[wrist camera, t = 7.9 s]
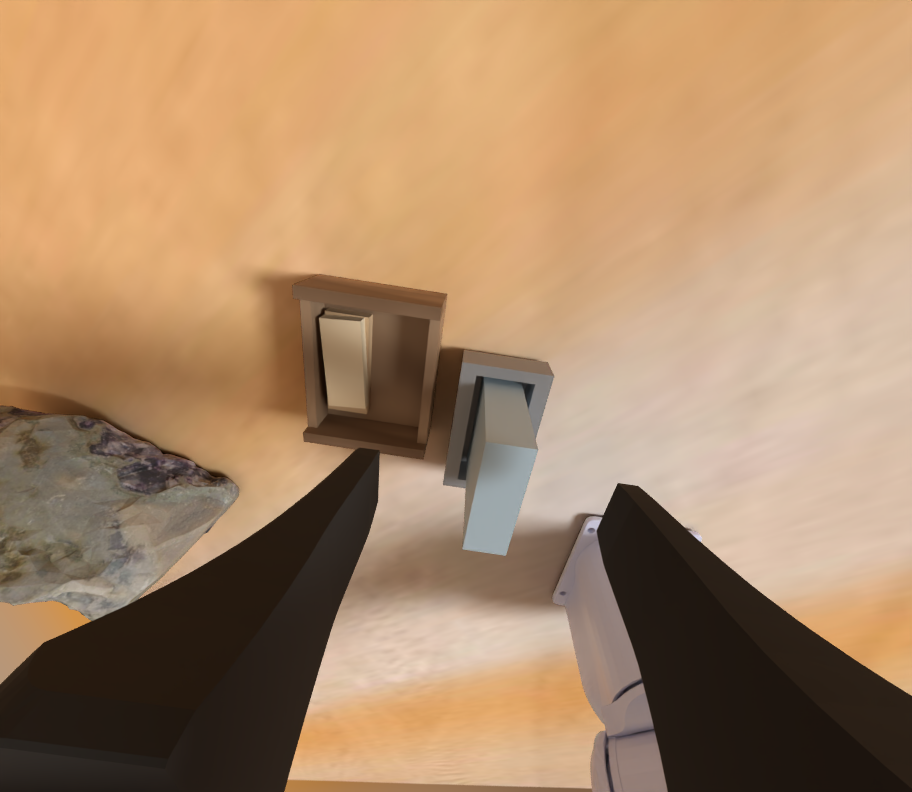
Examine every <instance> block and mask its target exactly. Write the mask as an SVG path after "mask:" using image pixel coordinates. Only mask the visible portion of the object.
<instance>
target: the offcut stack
mask: <svg viewBox="0 0 912 792" xmlns="http://www.w3.org/2000/svg"><path fill="white" fill-rule="evenodd" d="M319 323H320V332H321V341H322V350H323V359H324V368H325V377H326V386H327V395H328V408H329V409H336V410H342V411H349V412H355V413H362V414H367V413H368V411H369V409H370V392H371V359H372V325H373V314H369V313H363V312H356V311H350V310H343V309H337V308H329V309H327V310H325V314H324V315H323V316H321V317H320V318H319Z"/></svg>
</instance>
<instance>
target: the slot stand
mask: <svg viewBox="0 0 912 792" xmlns="http://www.w3.org/2000/svg"><path fill="white" fill-rule="evenodd" d="M482 377H489V378H496V379H503V380H509V381H516V382H522V386H523V390H524V394H525V398H526V402H527V407H528V411H529V415H530V419H531V423H532V427H533V431H534V435H535V439H536V436H537V432H538V429H539V426H540V422H541V419H542V416H543V412H544V409H545V405H546V402H547V399H548V395H549V392H550V388H551V385H552V382H553V378H554V375H553V373H552V370H551V368H550V366H549V364H548V363H547V362H541V361H534V360H528V359H521V358H515V357H508V356H502V355H495V354H489V353H482V352H476V351H469V350H464V352H463V359H462V365H461V371H460V377H459V384H458V390H457V396H456V403H455V409H454V415H453V422H452V428H451V434H450V441H449V447H448V453H447V460H446V466H445V474H444V481H443V485H447V486H453V487H460V488H466V474H467V456H468V450H469V445H470V440H471V435H472V430H473V424H474V419H475V414H476V409H477V404H478V398H479V393H480V388H481V383H482Z"/></svg>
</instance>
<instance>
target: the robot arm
mask: <svg viewBox="0 0 912 792" xmlns="http://www.w3.org/2000/svg"><path fill="white" fill-rule="evenodd" d="M379 455H380V450H375V449H367V448H360V447H359V448H358V449H356V450H355V451H354V452H353V453H352V454H351V455H350V456H349V457H348V458H347V459H346V460H345V461H344V462H343V463H342V464H341V465H339V466H338V467H337V468H336V469H335V470H334V471H333V472H332V473H331V474H330V475H329V476H327V477H326V478H325V479H324V480H323V481H322V482H321V483H319V484H318V485H317V486H316V487H315V488H314V489H313V490H311V491H310V492H309V493H308V494H307V495H305V496H304V497H303V498H302V499H300V500H299V501H298V502H297V503H295V504H294V505H293V506H291V507H290V508H289V509H288V510H286V511H285V512H284V513H283V514H281V515H280V516H279V517H277V518H276V519H274V520H273V521H272V522H270V523H269V524H267V525H266V526H265V527H263V528H262V529H260V530H259V531H257V532H256V533H254V534H253V535H251V536H250V537H248V538H247V539H245V540H244V541H242V542H241V543H239V544H238V545H236V546H234V547H233V548H231V549H229V550H228V551H226V552H225V553H223V554H221V555H220V556H218V557H216V558H215V559H213V560H211V561H209V562H208V563H206V564H204V565H203V566H201V567H199V568H198V569H196V570H194V571H192V572H190V573H189V574H187V575H185V576H183V577H181V578H179V579H177V580H175V581H174V582H172V583H170V584H168V585H166V586H164V587H162V588H160V589H158V590H156V591H154V592H152V593H150V594H148V595H146V596H144V597H142V598H140V599H138V600H136V601H134V602H132V603H130V604H128V605H126V606H124V607H122V608H120V609H118V610H115V611H113V612H111V613H109V614H107V615H104V616H102V617H100V618H98V619H96V620H93V621H91V622H89V623H87V624H85V625H82V626H80V627H78V628H76V629H74V630H71V631H69V632H67V633H65V634H63V635H60V636H58V637H56V638H53V639H51V640H49V641H46V642H44V643H43V644H42V645H41V646H40V647H39V648H38V649H36V650H35V651H34V652H33V653H32V654H31V655H30V656H29V657H28V658H27V659H26V660H25V661H24V662H23V663H22V664H21V665H20V666H19V667H18V668H16V669H15V671H13V672H12V673H11V674H10V676H8V677H7V678H6V680H4V681H3V682H2V683H1V684H0V792H284V791H285V787H286V783H287V780H288V776H289V772H290V768H291V765H292V761H293V758H294V754H295V751H296V747H297V744H298V740H299V737H300V733H301V730H302V726H303V722H304V719H305V715H306V712H307V708H308V705H309V702H310V698H311V695H312V692H313V688H314V685H315V681H316V678H317V675H318V671H319V668H320V665H321V661H322V658H323V655H324V652H325V648H326V645H327V642H328V639H329V635H330V632H331V629H332V626H333V623H334V620H335V617H336V614H337V612H338V609H339V606H340V604H341V601H342V599H343V596H344V594H345V591H346V589H347V586H348V584H349V581H350V579H351V577H352V574H353V572H354V569H355V567H356V564H357V562H358V559H359V557H360V554H361V552H362V549H363V547H364V544H365V542H366V539H367V537H368V534H369V531H370V528H371V524H372V521H373V517H374V514H375V510H376V506H377V503H378V485H379ZM589 528H591V529H589ZM701 540H702V537H701V536H700V534H699V533H698V532H696V531H690V530H687V529H686V528H684V527H683V526H682V525H681V524H680V523H679V522H678V521H677V520H676V519H675V518H674V517H672V516H671V515H670V514H669V513H668V512H667V511H666V510H665V509H664V508H663V507H662V506H660V505H659V504H658V503H657V502H656V501H655V500H654V499H653V498H652V497H650V496H649V495H648V494H647V493H646V492H645V491H643V490H642V489H641V488H640V487H639V486H634V485H627V484H620V483H618V484H617V486H616V489H615V491H614V493H613V495H612V497H611V500H610V502H609V504H608V506H607V508H606V511H605V513H604V515H603V517H596V516H590V517H588V518H586V520H585V522H584V524H583V526H582V529H581V531H580V533H579V536H578V538H577V540H576V542H575V545H574V547H573V549H572V552H571V554H570V556H569V559H568V561H567V563H566V566H565V568H564V570H563V573H562V575H561V577H560V580H559V582H558V584H557V587H556V589H555V591H554V594H553V596H552V599H553V602H554V603H555V604H557V605H564V606H565V607H566V612H567V616H568V621H569V626H570V630H571V635H572V640H573V644H574V649H575V654H576V658H577V663H578V667H579V672H580V677H581V681H582V685H583V689H584V692H585V694H586V697H587V699H588V701H589V703H590V705H591V707H592V708H593V710H594V711H595V713H596V715H597V716H598V717H599V719H600V720H601V721H602V722H603V724H604V725H605V729H606V731H600V732H599V733H598V734H597V735H596V737H595V740H594V746H593V751H592V755H591V762H590V772H591V784H592V792H912V696H911V695H909V694H908V693H906V692H904V691H903V690H901V689H900V688H898V687H896V686H895V685H893V684H892V683H890V682H888V681H887V680H885V679H884V678H882V677H881V676H879V675H877V674H876V673H874V672H873V671H871V670H870V669H868V668H867V667H865V666H863V665H862V664H860V663H859V662H857V661H856V660H854V659H853V658H851V657H850V656H848V655H847V654H845V653H844V652H843V651H841V650H840V649H838V648H837V647H835V646H834V645H832V644H831V643H829V642H828V641H826V640H825V639H823V638H822V637H820V636H819V635H818V634H816V633H815V632H813V631H812V630H810V629H809V628H808V627H806V626H805V625H803V624H802V623H801V622H799V621H798V620H796V619H795V618H794V617H792V616H791V615H790V614H788V613H787V612H786V611H784V610H783V609H782V608H780V607H779V606H778V605H776V604H775V603H774V602H772V601H771V600H770V599H768V598H767V597H766V596H764V595H763V594H762V593H761V592H759V591H758V590H757V589H756V588H754V587H753V586H752V585H750V584H749V583H748V582H747V581H746V580H744V579H743V578H742V577H741V576H740V575H738V574H737V573H736V572H735V571H734V570H732V569H731V568H730V567H729V566H728V565H726V564H725V563H724V562H723V561H722V560H720V559H719V558H718V557H717V556H716V555H715V554H714V553H712V552H711V551H710V550H709V549H708V548H707V547H706V546H704V545H703V544H702V543H701Z"/></svg>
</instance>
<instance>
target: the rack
mask: <svg viewBox="0 0 912 792" xmlns="http://www.w3.org/2000/svg"><path fill="white" fill-rule="evenodd" d="M292 288H293V299H300V312H301V328H302V343H303V358H304V373H305V388H306V403H307V418H308V427H307V428H306V430H305V431H304V432H303V436H304V442H310V443H317V444H323V445H330V446H337V447H343V448H350V449H358V448H359V447H360V448H367V449H375V450H380V453H383V454H390V455H396V456H403V457H410V458H416V459H423V458H424V454H425V450H426V445H427V441H428V437H429V433H430V427H431V419H432V411H433V403H434V395H435V387H436V379H437V371H438V363H439V355H440V347H441V339H442V331H443V323H444V315H445V307H446V299H447V294H443V293H437V292H431V291H424V290H418V289H411V288H405V287H398V286H392V285H385V284H379V283H373V282H366V281H360V280H353V279H347V278H340V277H334V276H327V275H321V274H319V275H317V276H314V277H311V278H309V279H306V280H304V281H301V282H298V283H296V284H293V285H292ZM329 308H337V309H343V310H350V311H356V312H363V313H369V314H373V325H372V359H371V392H370V409H369V411H368V413H367V414H362V413H355V412H349V411H342V410H336V409H329V408H328V395H327V386H326V377H325V368H324V359H323V350H322V341H321V332H320V323H319V318H320V317H321V316H323V315H324V314H325V310H327V309H329Z"/></svg>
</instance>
